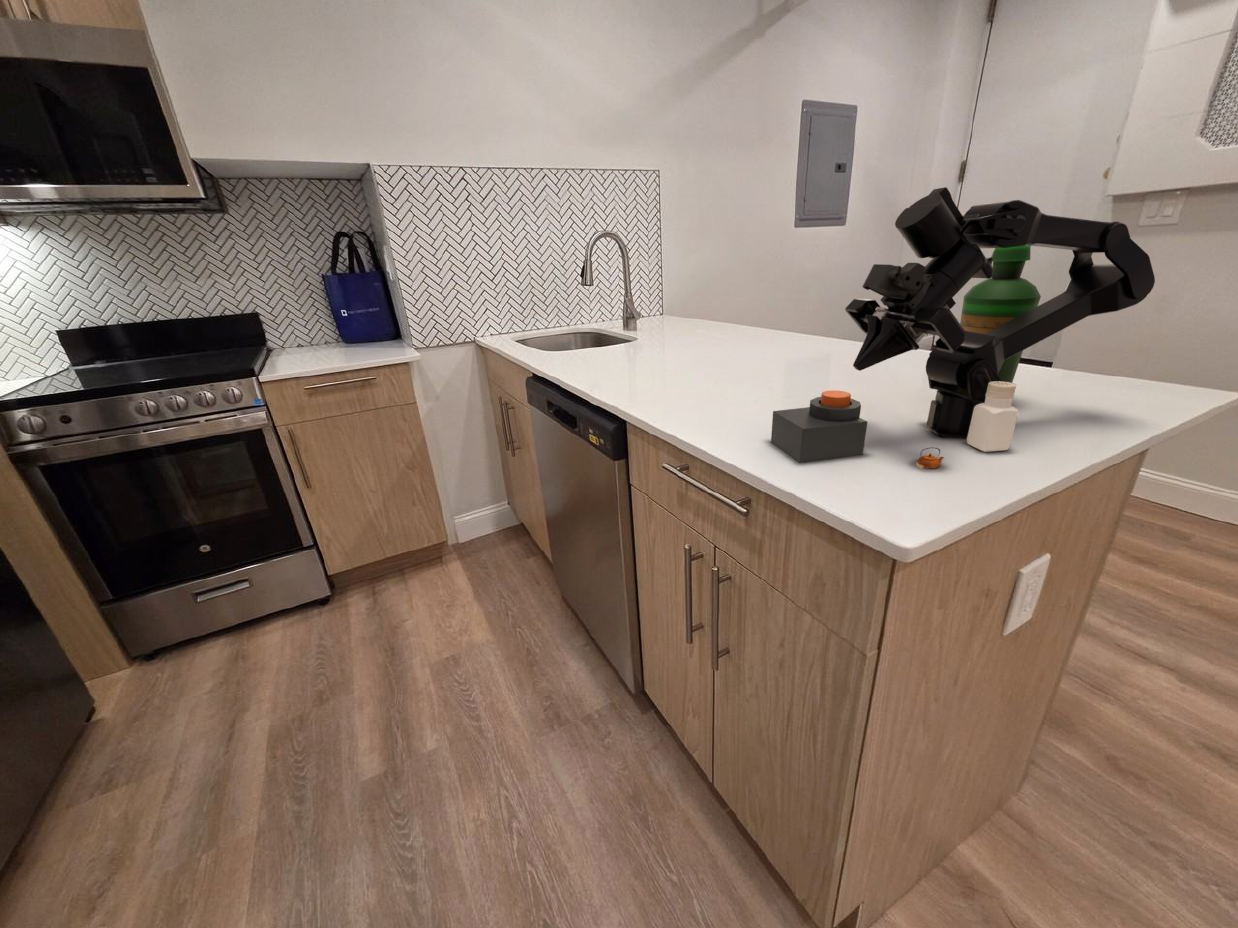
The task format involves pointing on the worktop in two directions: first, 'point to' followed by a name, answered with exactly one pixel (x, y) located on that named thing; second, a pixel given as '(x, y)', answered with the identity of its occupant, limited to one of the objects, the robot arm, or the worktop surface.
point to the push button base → (819, 431)
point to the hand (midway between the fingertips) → (856, 368)
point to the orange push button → (835, 398)
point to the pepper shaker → (994, 418)
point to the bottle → (1001, 299)
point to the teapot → (929, 461)
